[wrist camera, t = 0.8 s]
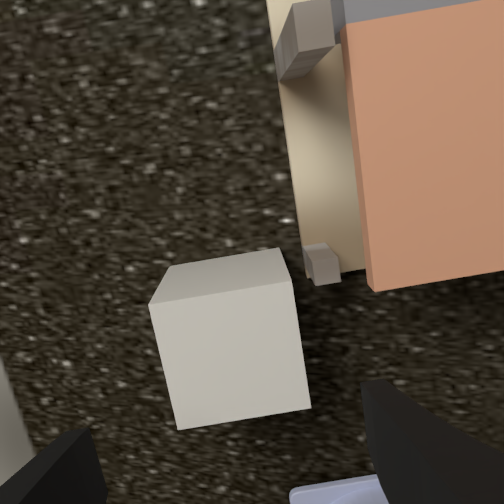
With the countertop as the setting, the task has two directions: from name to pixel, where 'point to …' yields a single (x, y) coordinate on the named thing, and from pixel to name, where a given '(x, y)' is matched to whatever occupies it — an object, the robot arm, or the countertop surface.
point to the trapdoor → (426, 135)
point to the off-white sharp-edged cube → (230, 339)
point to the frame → (317, 137)
